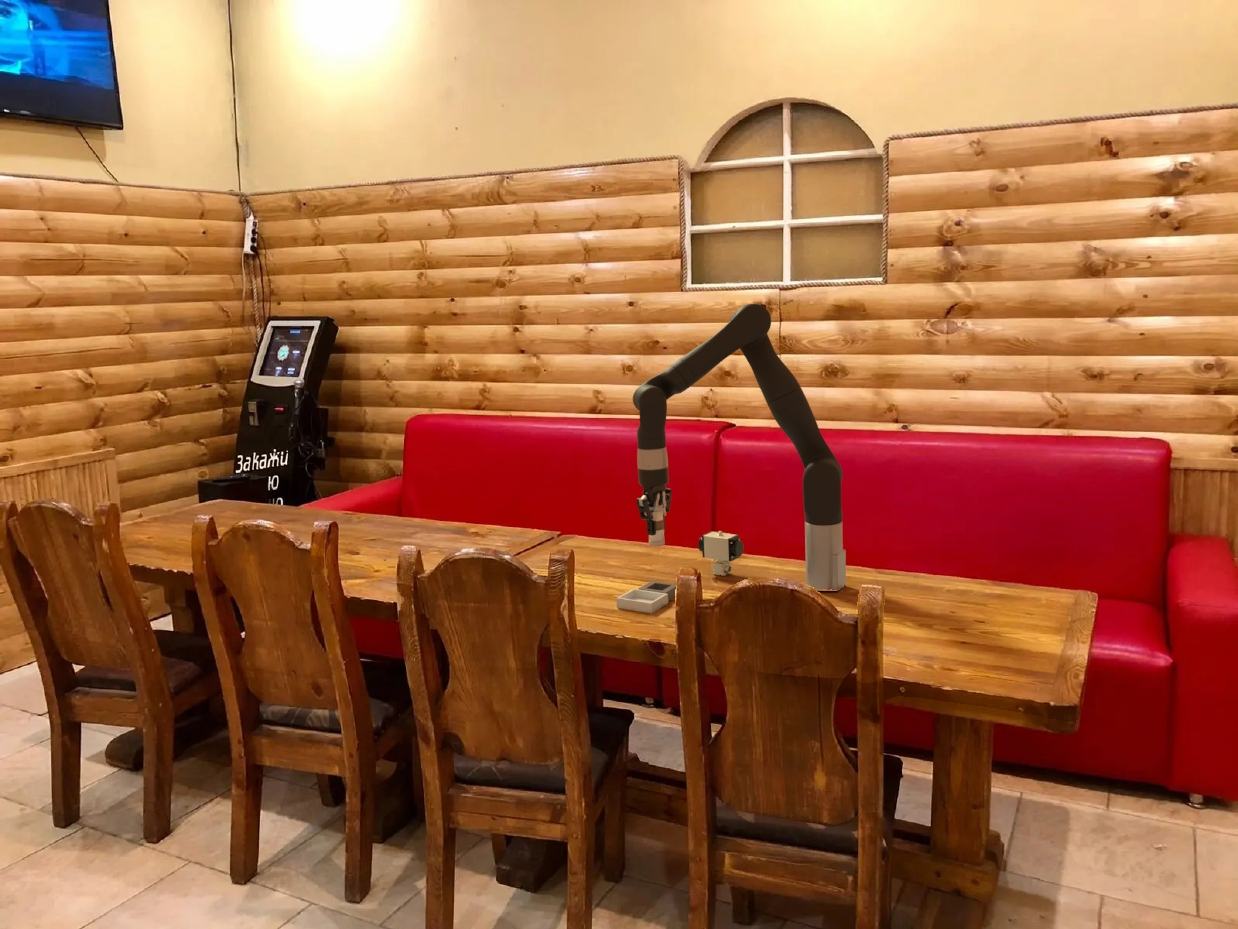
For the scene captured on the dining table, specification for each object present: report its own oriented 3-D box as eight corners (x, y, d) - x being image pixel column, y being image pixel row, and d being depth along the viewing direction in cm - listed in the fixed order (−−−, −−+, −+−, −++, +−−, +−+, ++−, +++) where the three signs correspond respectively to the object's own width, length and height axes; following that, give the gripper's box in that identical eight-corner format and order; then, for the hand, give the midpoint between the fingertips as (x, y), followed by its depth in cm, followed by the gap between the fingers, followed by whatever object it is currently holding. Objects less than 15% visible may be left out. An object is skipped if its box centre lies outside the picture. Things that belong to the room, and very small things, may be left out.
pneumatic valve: (736, 579, 251) (734, 535, 249) (698, 573, 258) (697, 530, 256) (746, 574, 255) (745, 530, 253) (709, 568, 262) (707, 526, 260)
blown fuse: (667, 543, 238) (665, 504, 237) (659, 547, 235) (657, 507, 233) (654, 541, 241) (652, 503, 239) (646, 545, 237) (643, 506, 236)
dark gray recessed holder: (679, 594, 241) (679, 584, 241) (665, 602, 235) (665, 592, 235) (652, 590, 246) (652, 580, 245) (638, 598, 240) (638, 588, 239)
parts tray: (668, 603, 235) (667, 593, 234) (651, 613, 228) (651, 603, 228) (634, 598, 240) (633, 588, 240) (616, 607, 233) (616, 598, 233)
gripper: (651, 471, 227) (654, 541, 230) (680, 461, 238) (683, 527, 241) (624, 470, 231) (628, 538, 234) (654, 459, 242) (658, 524, 245)
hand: (656, 532), depth 237 cm, fingers closed on blown fuse, 4 cm apart
